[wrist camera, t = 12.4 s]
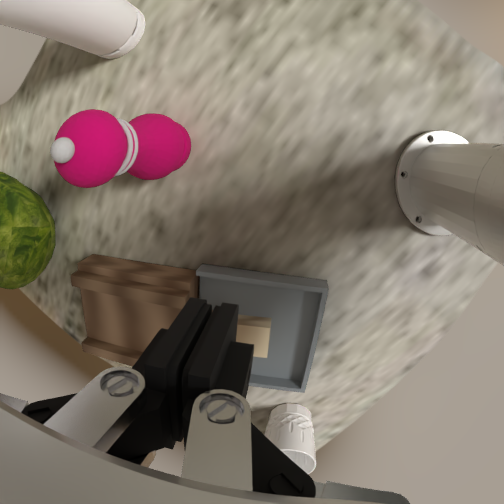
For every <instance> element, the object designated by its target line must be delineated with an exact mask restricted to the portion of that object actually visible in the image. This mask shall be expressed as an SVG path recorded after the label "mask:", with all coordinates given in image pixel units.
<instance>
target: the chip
mask: <svg viewBox="0 0 504 504" xmlns="http://www.w3.org/2000/svg"><path fill="white" fill-rule="evenodd" d="M270 329H271V318H266V317H256V316H247V315H239V314H238V323H237V335H236V342H241V343H248V344H254V354H253V357H262V358H267V355H268V348H269V339H270Z"/></svg>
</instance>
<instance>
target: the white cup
mask: <svg viewBox="0 0 504 504" xmlns="http://www.w3.org/2000/svg"><path fill="white" fill-rule="evenodd" d="M265 436H266V437H267V438H268V439H269V440H270V441H271V442H272V443H273V444H274V445H275V446H276V447H278V448H279V449H280V450H281V451H282V452H283V453H284V454H285V455H286V456H288V457H289V458H290V459H291V460H292V461H293V462H294V463H295V464H297V465H298V466H299V467H300V468H301V469H302V470H304V471H305V472H306V473H307V474H309V473H311V472H312V471H313V470H314V469H315V466H316V454H315V440H314V431H313V426H312V417H311V412H310V411H309V410H308V409H307V408H306V407H304V406H302V405H299V404H294V403H286V404H282V405H278V406H277V407H276V408H274V409H273V410H272V411H271V413H270V415H269V419H268V424H267V427H266V431H265Z"/></svg>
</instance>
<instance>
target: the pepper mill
mask: <svg viewBox="0 0 504 504" xmlns="http://www.w3.org/2000/svg"><path fill="white" fill-rule="evenodd" d="M190 150H191V141H190V137H189V134H188V132H187V131H186V129H185V128H184V127H183V126H181V125H180V124H178V123H176V122H174V121H173V120H172V119H171V118H169V117H167V116H165V115H161V114H144V115H141V116H138V117H136V118H134V119H132V120H131V121H130V122H129V123H128V122H126V121H125V120H122V119H118V118H115V117H114V116H112V115H111V114H109V113H108V112H105V111H102V110H95V109H92V110H85V111H81V112H78V113H76V114H74V115H72V116H71V117H70V118H69V119H67V120H66V121H65V122H64V123H63V125H62V126H61V127H60V129H59V131H58V133H57V135H56V138H55V141H54V143H53V144H52V146H51V150H50V153H51V157H52V158H53V160H54V163H55V166H56V168H57V170H58V172H59V173H60V175H61V176H62V177H63V178H64V179H65V180H66V181H67V182H69V183H70V184H72V185H74V186H77V187H83V188H90V187H96V186H99V185H102V184H104V183H106V182H108V181H109V180H110V179H112V178H113V177H114V176H118V175H121V174H123V173H125V172H126V171H127V172H128V173H130V174H131V175H133V176H135V177H137V178H140V179H144V180H154V179H159V178H163V177H165V176H167V175H168V174H170V173H171V172H172V171H175V170H177V169H179V168H180V167H181V166H182V165H183V164H184V163H185V162H186V160H187V159H188V157H189V154H190Z"/></svg>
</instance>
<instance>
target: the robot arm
mask: <svg viewBox="0 0 504 504" xmlns="http://www.w3.org/2000/svg"><path fill="white" fill-rule="evenodd" d="M427 137H429V141H428V140H427ZM401 172H403V173H404V175H403V176H401ZM395 188H396V194H397V198H398V201H399V204H400V207H401V208H402V210H403V212H404V214H405V215H406V217H407V218H408V219H409V220H410V222H412V223H413V224H414V225H415V226H416V227H417V228H419V229H421V230H422V231H424V232H426V233H428V234H431V235H436V236H449V235H452V234H454V235H456V236H458V237H459V238H461V239H463V240H464V241H466V242H467V243H469V244H471V245H472V246H474V247H475V248H477V249H479V250H480V251H482V252H483V253H485V254H486V255H488V256H489V257H491V258H492V259H494V260H495V261H497V262H499V263H500V264H502V265H503V266H504V144H488V143H469V142H468V141H467V140H466V139H464V138H463V137H461V136H460V135H458V134H456V133H453V132H450V131H445V130H434V131H429V132H426V133H423V134H421V135H419V136H417V137H416V138H415V139H413V140H412V141H411V142H410V143H409V144H408V145H407V146H406V148H405V149H404V151H403V153H402V154H401V156H400V159H399V162H398V164H397V169H396V174H395ZM416 217H418V219H417V220H415V219H416ZM238 312H239V305H237V304H231V303H224V302H222V304H221V306H217V305H216V306H215V308H214V310H213V312H212V305H211V304H207V300H205V299H199V298H193V297H190V298H189V300H188V301H187V303H186V304H185V306H184V307H183V308H182V310H181V311H180V313H179V314H178V316H177V317H176V318H175V320H174V321H173V323H172V324H171V326H170V327H169V329H164V328H162V329H160V330H159V331H158V333H157V334H156V335H155V337H154V338H153V339H152V341H151V342H150V344H149V345H148V346H147V348H146V349H145V350H144V352H143V353H142V355H141V356H140V357H139V359H138V360H137V362H136V363H135V364H134V366H133V367H132V369H131V368H128V367H113V368H109V369H107V370H104V371H103V372H101V373H100V374H99V375H97V376H96V377H95V378H94V379H93V380H92V381H91V382H90V383H89V384H88V385H86V386H85V387H84V388H83V389H82V390H81V391H80V392H79V393H76V394H71V395H67V396H63V397H57V398H52V399H47V400H42V401H37V402H34V403H31V404H28V401H25V400H21V399H18V398H14V397H11V396H8V395H4V394H1V393H0V504H410V503H409V501H408V500H407V499H406V498H405V497H404V496H402V495H401V494H397V493H394V492H388V491H380V490H373V489H367V488H360V487H355V486H350V485H345V484H340V483H335V482H330V481H327V482H326V484H323V483H319V482H315V481H313V480H312V478H311V477H310V476H309V475H308V474H307V473H306V472H305V471H304V470H302V469H301V468H300V467H299V466H298V465H297V464H295V463H294V462H293V461H292V460H291V459H290V458H289V457H288V456H286V455H285V454H284V453H283V452H282V451H281V450H280V449H279V448H278V447H276V446H275V445H274V444H273V443H272V442H271V441H270V440H269V439H268V438H267V437H266V436H265V435H264V434H262V433H261V432H260V431H259V430H258V429H257V428H256V427H255V426H254V425H253V424H252V423H251V410H250V406H249V403H248V402H247V400H246V395H247V391H248V386H249V381H250V375H251V369H252V362H253V354H254V344H248V343H241V342H236V335H237V323H238ZM183 437H184V447H185V455H184V462H183V468H182V474H181V477H178V476H175V475H171V474H167V473H164V472H160V471H157V470H154V469H150V468H148V467H149V466H150V464H151V463H152V461H153V460H154V458H155V456H156V450H158V449H162V448H164V447H166V448H169V449H173V447H174V445H175V442H176V441H179V442H181V441H182V439H183Z"/></svg>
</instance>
